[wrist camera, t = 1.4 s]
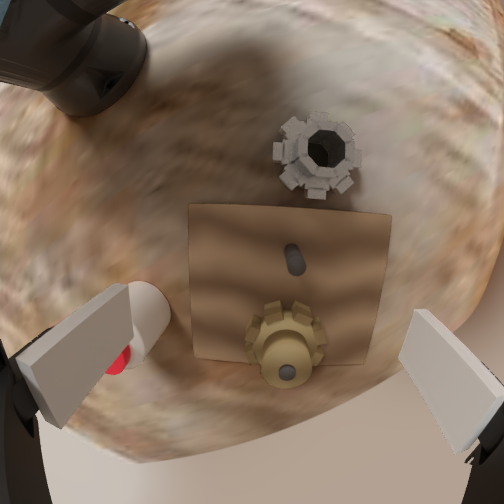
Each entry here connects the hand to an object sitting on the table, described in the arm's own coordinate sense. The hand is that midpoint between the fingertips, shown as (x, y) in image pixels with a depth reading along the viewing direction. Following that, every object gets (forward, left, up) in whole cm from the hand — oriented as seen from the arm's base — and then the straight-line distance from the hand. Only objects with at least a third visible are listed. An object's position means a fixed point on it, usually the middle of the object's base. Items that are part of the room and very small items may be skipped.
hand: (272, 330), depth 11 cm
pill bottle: (+10, -16, -19) cm, 27 cm away
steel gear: (-9, +4, -19) cm, 22 cm away
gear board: (+6, +2, -19) cm, 20 cm away
